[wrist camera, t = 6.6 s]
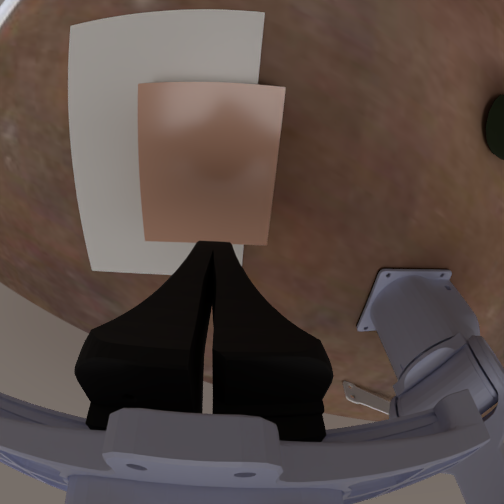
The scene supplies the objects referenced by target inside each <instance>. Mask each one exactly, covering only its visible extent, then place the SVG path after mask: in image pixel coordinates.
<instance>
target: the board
mask: <svg viewBox="0 0 504 504" xmlns="http://www.w3.org/2000/svg"><path fill="white" fill-rule="evenodd" d="M264 17H265V13H264V12H254V11H240V10H214V9H196V10H170V11H157V12H146V13H137V14H130V15H123V16H116V17H110V18H105V19H99V20H94V21H89V22H85V23H81V24H76V25H72V26H71V29H70V41H69V60H68V109H69V129H70V142H71V153H72V163H73V171H74V179H75V186H76V193H77V200H78V206H79V212H80V217H81V222H82V228H83V233H84V237H85V242H86V247H87V251H88V255H89V260H90V264H91V268H92V271H107V272H124V273H143V274H163V275H173V273H174V272H175V271H176V270H177V269H178V268H179V267H180V265H181V264H182V263H183V261H184V260H185V259H186V258H187V256H188V255H189V253H190V252H191V251H192V249H193V247H194V246H195V244H196V243H187V242H158V241H145V237H144V227H143V217H142V205H141V192H140V177H139V156H138V84H140V83H148V82H164V81H221V82H241V83H255V84H258V78H259V67H260V57H261V47H262V37H263V26H264ZM232 246H233V249H234V252H235V254H236V257H237V259H238V261H239V263H240V264H241V266H242V260H243V248H244V245H241V244H232Z"/></svg>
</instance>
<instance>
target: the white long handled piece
mask: <svg viewBox="0 0 504 504" xmlns="http://www.w3.org/2000/svg"><path fill="white" fill-rule="evenodd" d="M348 385H349V386H351V388H352V389H350V388H348ZM343 388H344V392H345V396H346V398H347V399H348V400H349V401H351V402H354V403H356V404H358V403H360V404H363V405H365V406H368V407H370V408H373V409H375V410H378V411H380V412H383V413H386V414H388V415H389V409H390V402H389V401H387V400H384V399H382V398H380V397H378V396H375V395H373V394H371V393H369V392H367V391H364V390H362V389H360V388H358V387H356V386H355V385H354V384H352V383H350V382H347V381H343ZM350 395H352V396H354V399H353V398H351V396H350Z"/></svg>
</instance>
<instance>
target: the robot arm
mask: <svg viewBox="0 0 504 504" xmlns="http://www.w3.org/2000/svg"><path fill="white" fill-rule="evenodd" d="M388 273H389V274H388ZM387 274H388V275H387ZM451 275H452V272H451V271H450V270H434V269H382V270H380V271H379V273H378V275H377V278H376V280H375V283H374V286H373V288H372V291H371V293H370V296H369V298H368V301H367V303H366V306H365V308H364V310H363V313H362V315H361V318H360V320H359V322H358V325H357V327H356V328H357V330H358V331H374V330H376V331H377V333H378V335H379V338H380V340H381V342H382V344H383V347H384V349H385V351H386V353H387V356H388V358H389V360H390V363H391V365H392V367H393V370H394V372H395V374H396V377H397V379H398V382H397V383H395V384H394V385H393V388H394V391H395V393H396V396H394V397H393V398H392V400H391V402H390V409H389V419H388V420H384V421H379V422H374V423H369V424H363V425H357V426H351V427H344V428H337V429H329V430H325V426H324V421H323V416H322V414H323V413H324V405H323V401H322V399H323V397H324V396H325V394H326V392H327V390H328V388H329V386H330V385H331V383H332V379H333V371H332V366H331V363H330V360H329V358H328V356H327V353H326V351H325V349H324V347H323V345H322V343H321V341H320V340H319V339H317V338H315V337H314V336H312V335H310V334H308V333H307V332H305V331H303V330H302V329H300V328H299V327H297V326H296V325H294V324H293V323H292V322H290V321H289V320H287V319H286V318H285V317H284V316H283V315H281V314H280V313H279V312H278V311H277V310H276V309H275V308H273V307H272V306H271V305H270V304H269V303H268V302H267V300H266V299H265V298H264V297H263V296H262V295H261V294H260V293H259V291H258V290H257V289H256V287H255V286H254V285H253V283H252V282H251V281H250V279H249V278H248V276H247V275H246V273H245V271H244V270H243V268H242V266H241V264H240V263H239V261H238V259H237V257H236V254H235V252H234V249H233V246H232V244H231V243H230V242H219V241H198V242H197V243H196V244H195V246H194V247H193V249H192V251H191V252H190V253H189V255H188V256H187V258H186V259H185V260H184V261H183V263H182V264H181V265H180V267H179V268H178V269H177V270H176V271H175V272H174V273H173V275H172V276H171V277H170V278H169V279H168V280H167V281H166V282H165V283H164V284H163V285H162V286H161V287H160V288H159V289H158V290H157V291H155V292H154V293H153V294H152V295H151V296H149V297H148V298H147V299H146V300H144V301H143V302H141V303H140V304H139V305H137V306H136V307H134V308H133V309H131V310H130V311H128V312H126V313H125V314H123V315H121V316H119V317H117V318H116V319H114V320H112V321H110V322H107V323H105V324H103V325H101V326H99V327H97V328H94V329H92V330H91V331H90V333H89V335H88V337H87V339H86V340H85V342H84V345H83V347H82V349H81V352H80V355H79V357H78V360H77V362H76V366H75V376H76V378H77V380H78V382H79V384H80V385H81V387H82V389H83V390H84V392H85V393H86V395H87V397H88V398H89V400H90V401H91V403H90V407H89V411H88V415H87V419H86V418H81V417H78V416H73V415H69V414H66V413H62V412H58V411H54V410H51V409H47V408H44V407H41V406H37V405H34V404H31V403H28V402H25V401H22V400H19V399H17V398H14V397H11V396H8V395H5V394H3V393H0V462H2V463H4V464H5V465H7V466H9V467H12V468H13V469H15V470H17V471H19V472H21V473H23V474H26V475H28V476H30V477H32V478H34V479H37V480H39V481H41V482H43V483H46V484H48V485H51V486H54V487H56V488H58V489H61V490H64V491H66V492H67V493H66V500H65V504H353V503H357V502H361V501H364V500H368V499H371V498H374V497H377V496H380V495H384V494H387V493H390V492H392V491H395V490H398V489H401V488H403V487H406V486H409V485H412V484H414V483H417V482H419V481H421V480H424V479H427V478H429V477H431V476H434V475H436V474H438V473H445V474H452V475H454V477H455V479H456V481H457V483H458V486H459V488H460V490H461V493H462V495H463V497H464V500H465V502H466V504H504V442H503V441H504V368H503V366H502V365H501V363H500V361H499V360H498V358H497V357H496V355H495V354H494V352H493V351H492V349H491V348H490V346H489V345H488V343H487V342H486V341H485V340H484V338H483V337H482V336H480V329H479V323H478V320H477V317H476V315H475V314H474V312H473V311H472V309H471V308H470V307H469V305H468V304H467V302H466V301H465V300H464V298H463V297H462V296H461V294H460V293H459V292H458V290H457V289H456V288H455V287H454V285H453V284H452V283H451V281H450V280H449V279H450V277H451ZM211 307H212V310H213V325H214V334H213V349H212V353H213V414H202V401H203V369H204V352H205V344H206V338H207V331H208V325H209V319H210V313H211ZM497 402H498V405H497V406H496V407H495V408H494V409H493V410H492V411H491V412H490V413H489V414H487V415H486V416H485V417H483V418H482V417H481V414H483V413H484V412H485V411H487V410H488V409H489V408H491V407H492V406H493V405H494V404H496V403H497Z"/></svg>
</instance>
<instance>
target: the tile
mask: <svg viewBox="0 0 504 504" xmlns="http://www.w3.org/2000/svg"><path fill="white" fill-rule="evenodd" d="M285 89H286V87H282V86H276V85H267V84H255V83H241V82H221V81H164V82H148V83H140V84H138V156H139V177H140V192H141V205H142V217H143V227H144V237H145V241H158V242H187V243H197V242H198V241H219V242H230V243H231V244H241V245H267V240H268V233H269V225H270V217H271V209H272V201H273V192H274V184H275V176H276V168H277V159H278V151H279V142H280V134H281V125H282V116H283V107H284V98H285Z"/></svg>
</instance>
